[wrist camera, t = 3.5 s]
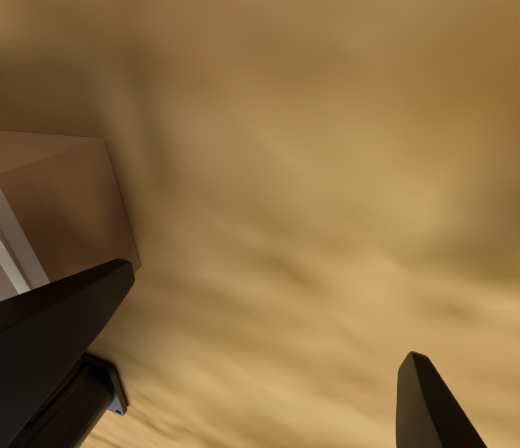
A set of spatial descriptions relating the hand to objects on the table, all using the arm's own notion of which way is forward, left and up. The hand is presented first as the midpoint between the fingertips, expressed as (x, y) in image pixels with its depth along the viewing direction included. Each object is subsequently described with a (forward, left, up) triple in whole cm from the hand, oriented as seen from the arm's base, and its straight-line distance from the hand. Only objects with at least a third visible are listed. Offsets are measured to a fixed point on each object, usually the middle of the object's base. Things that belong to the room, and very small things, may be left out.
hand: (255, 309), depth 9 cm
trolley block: (0, +10, -3) cm, 11 cm away
